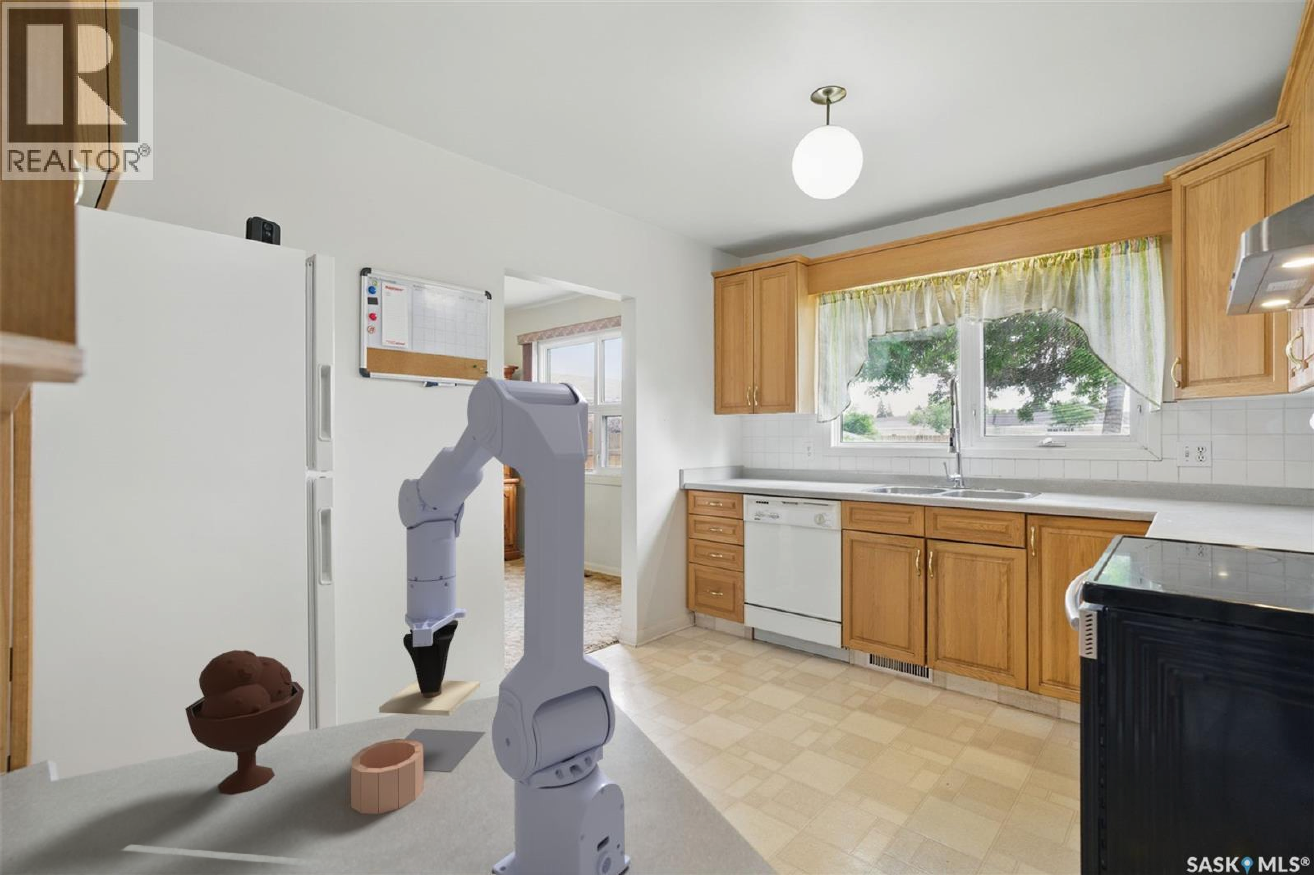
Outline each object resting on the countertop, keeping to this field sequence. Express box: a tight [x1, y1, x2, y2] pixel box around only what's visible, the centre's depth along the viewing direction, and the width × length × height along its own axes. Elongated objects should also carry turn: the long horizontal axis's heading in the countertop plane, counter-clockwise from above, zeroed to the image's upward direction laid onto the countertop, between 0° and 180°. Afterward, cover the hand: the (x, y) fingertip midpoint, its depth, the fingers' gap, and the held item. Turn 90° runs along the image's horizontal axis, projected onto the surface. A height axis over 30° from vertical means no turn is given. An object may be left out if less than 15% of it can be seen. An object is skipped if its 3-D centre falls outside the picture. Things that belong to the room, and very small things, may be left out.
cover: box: [378, 679, 481, 717], centre depth 74 cm, size 9×9×4 cm
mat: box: [404, 728, 486, 773], centre depth 74 cm, size 10×10×1 cm
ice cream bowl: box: [185, 649, 305, 795], centre depth 68 cm, size 11×11×15 cm
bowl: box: [350, 738, 424, 815], centre depth 65 cm, size 7×7×4 cm
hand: (432, 687), depth 74 cm, fingers closed on cover, 2 cm apart
